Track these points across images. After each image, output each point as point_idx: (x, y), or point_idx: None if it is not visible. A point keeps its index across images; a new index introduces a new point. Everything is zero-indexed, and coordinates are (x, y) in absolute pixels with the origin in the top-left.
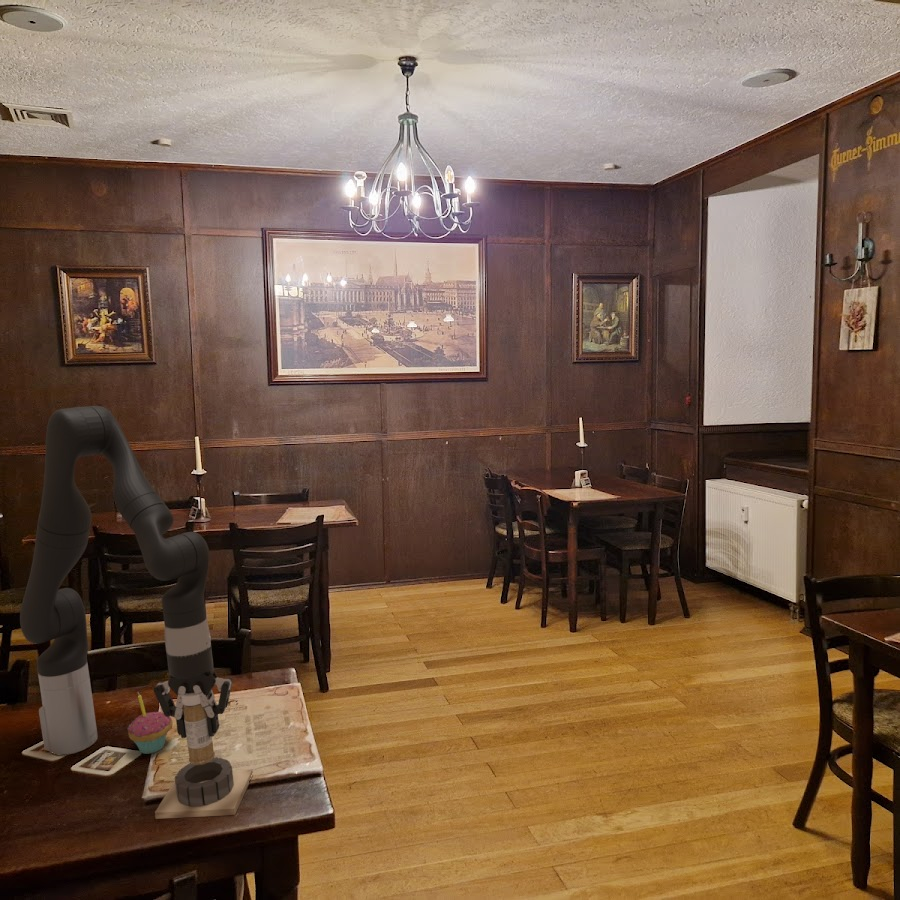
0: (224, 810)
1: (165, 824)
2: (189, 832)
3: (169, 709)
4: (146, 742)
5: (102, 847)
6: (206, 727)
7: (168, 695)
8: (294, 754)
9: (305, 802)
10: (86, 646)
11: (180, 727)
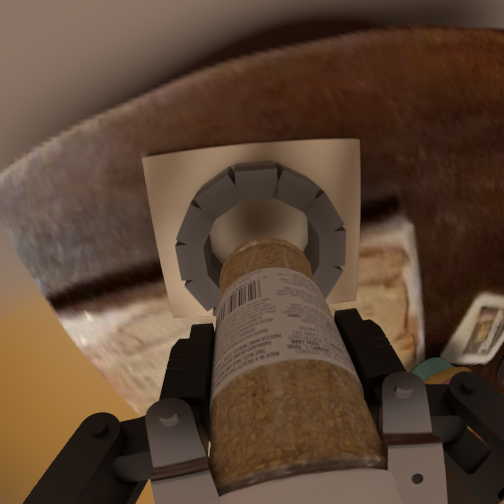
0: (168, 153)
1: (318, 114)
2: (238, 82)
3: (467, 412)
4: (442, 370)
5: (421, 51)
6: (216, 353)
7: (485, 487)
8: (125, 369)
9: (24, 216)
10: None
11: (371, 342)
